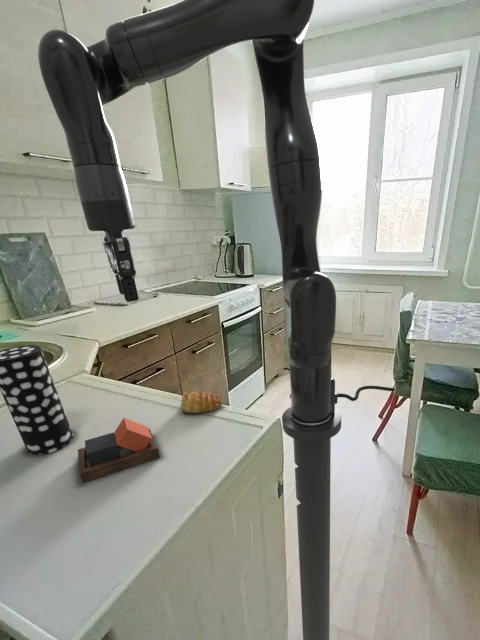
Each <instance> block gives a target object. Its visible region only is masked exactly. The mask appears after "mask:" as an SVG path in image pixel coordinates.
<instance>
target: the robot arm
mask: <svg viewBox="0 0 480 640" xmlns="http://www.w3.org/2000/svg"><path fill="white" fill-rule="evenodd" d="M314 6H315V0H180V1H178V2H175V3H173V4H170V5H167V6H163V7H160V8H157V9H155V10H151V11H147V12H145V13H141V14H139V15H135V16H131V17H128V18H125V19H122V20H119V21H116V22H114V23H112V24H110V25H109V26H107V28H106V29H105V38H103V39H101V40H100V41H98V42H95V43H94V44H91V45H89V46H86V45H84V43H83V42H81V40H80V39H78V38H77V37H76V36H75V35H72V34H71V33H69V32H67V31H65V30H62V29H51V30H49V31H47V32H45V33H44V34H43V35H42V37H41V38H40V41H39V44H38V49H37V58H38V59H37V60H38V66H39V70H40V74H41V78H42V80H43V83H44V86H45V90H46V92H47V94H48V96H49V99H50V102H51V104H52V107H53V109H54V111H55V114H56V116H57V118H58V121H59V123H60V124H61V127H62V129H63V132H64V135H65V140H66V144H67V145H66V146H67V148H68V152H69V156H70V159H71V163H72V167H73V171H74V172H73V173H74V179H75V180H74V181H75V185H76V189H77V193H78V197H79V200H80V204H81V207H82V208H81V209H82V211H83V215H84V219H85V222H86V226H87V229H88V230H89V231H90V232H104V233H105V236H104V239H103V241H104V242H102V245H103V249H104V251H105V253H106V257H107V261H108V264H109V266H110V268H111V270H112V273H113V275H114V276H115V280H116V284H117V288H118V292H119V294H120V295H123V298H124V300H125V301H126V302H128V303H130V302H136V301H138V300H139V298H140V297H139V293H138V289H137V284H136V280H135V279H136V274H137V271H136V269H135V263H134V258H133V255H132V249H131V248H132V247H131V244H130V243H131V242H130V240H129V239H128V237H127V236H124V234H123V232H124V231H125V230H134V229H135V228H136V222H135V217H134V212H133V208H132V202H131V199H130V193H129V189H128V185H127V181H126V177H125V175H124V171H123V169H122V163H121V159H120V155H119V149H118V146H117V142H116V141H117V140H116V138H115V135H114V133H113V130H112V129H111V127H110V125H109V123H108V122H107V120H106V117H105V114H104V109H103V106H105V105H107V104H109V103H111V102H113V101H115V100H117V99H118V98H120V97H122V96H124V95H126V94H128V93H129V92H131V91H132V90H133V89H135V88H138V87H142V86H146V85H150V84H152V83H156V82H159V81H163V80H165V79H168V78H171V77H174V76H177V75H178V74H181V73H183V72H185V71H187V70H189V69H191V68H192V67H194V66H195V65H197V64H198V63H200V62H201V61H203V60H205V59H206V58H208V57H210V56H211V55H213V54H214V53H217V52H218V51H221V50H223V49H226V48H228V47H230V46H232V45H236V44H239V43H243V42H248V41H251V45H252V50H253V54H254V58H255V63H256V67H257V72H258V73H257V74H258V78H259V84H260V88H261V94H262V102H263V114H264V115H263V117H264V137H265V148H266V151H265V152H266V160H267V161H266V162H267V171H268V177H269V178H268V179H269V185H270V186H269V187H270V192H271V198H272V204H273V205H272V206H273V210H274V216H275V223H276V228H277V232H278V238H279V242H280V250H281V251H280V252H281V271H282V272H281V273H282V296H283V299H284V302H285V304H286V306H287V307H288V308H289V310H290V334H289V335H288V338H287V342H288V343H287V344H288V345H287V346H288V363H289V383H290V385H289V386H290V394H289V399H290V405H291V406H290V407H292V410H291V411H292V413H291V416H292V420H293V421H294V422H295V423H296V424H298V425H301V426H305V427H317V426H322V425H324V424H326V423H328V422H329V421H330V420H331V418H332V417H334V416H335V408H336V406H335V405H337V404H338V398H344V399H348V400H349V401H351V402H355V401H357V400H358V398H359V395H360V393H361V392H362V391H364V390H379V391H385V392H395V391H396V388H395V387H388V386H379V385H363V386H361V387H358V388H357V390H356V391H355V394H354V396H351V395H350V394H347V393H341V392H339V393H337V392H336V380H335V379H334V378H333V377H332V345H333V344H332V343H333V340H334V336H335V333H336V318H337V317H336V316H337V294H336V288H335V285H334V283H333V281H332V280H331V279H330V278H329V277H328V276H327V275H325V274H323V273H322V271H321V267H320V260H319V254H318V244H317V238H318V237H317V236H318V227H319V221H320V216H321V209H322V208H321V207H322V198H323V179H322V165H321V154H320V147H319V141H318V137H317V133H316V129H315V125H314V122H313V119H312V118H313V117H312V115H311V112H310V108H309V104H308V100H307V99H308V98H307V94H306V84H305V65H304V64H305V63H304V61H305V59H304V57H305V55H304V53H305V52H304V50H305V47H304V46H305V35H306V33H307V30H308V27H309V24H310V23H311V19H312V15H313V12H314Z"/></svg>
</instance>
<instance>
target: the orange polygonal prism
mask: <svg viewBox="0 0 480 640" xmlns="http://www.w3.org/2000/svg"><path fill="white" fill-rule="evenodd" d="M114 434H115V439H116V443H117V446H120V447H124V448H127V449H130V450H133V451H136V452H138V451H141V450H144V449H146V447H147V446H148V444H149V443H150V441H151V440H152V437H151V435H150V432H149V427H148V426H146V425H144V424H142V423H139V422H136V421H133V420H131V419H128V418H126V417H123V418H122V419H121V421H120V423H119V424H118V426H117V427H116V429H115V430H114Z"/></svg>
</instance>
